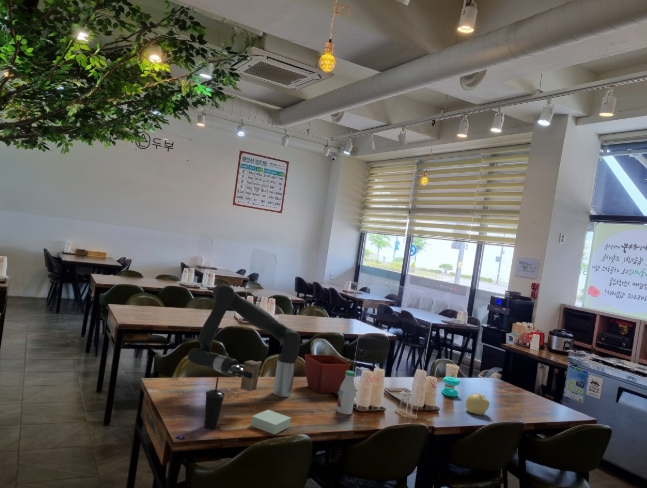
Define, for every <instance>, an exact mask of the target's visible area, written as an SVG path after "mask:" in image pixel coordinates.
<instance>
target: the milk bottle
mask: <svg viewBox="0 0 647 488" xmlns="http://www.w3.org/2000/svg"><path fill="white" fill-rule="evenodd" d="M355 375H356V372H355V371H354V370H349V371H346V373H345V379H344V381H343V382H342V384H341V386H340V390H339V392H338V398H337V404H336V412H338V413H339V414H340V415H346V416H348V415H352V413H353V409H354V404H355V403H354V402H355V396H356V395H355V394H356V384H355V380H354V379H355Z"/></svg>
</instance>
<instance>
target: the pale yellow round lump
mask: <svg viewBox="0 0 647 488" xmlns="http://www.w3.org/2000/svg"><path fill="white" fill-rule="evenodd" d="M464 406H465V408H466V410H467V412H469V413H471V414H474V415H479V416H483V415H484V414H485V413H487V410H488V409H490V401H489V399H487V398H486V397H485V395H484V394H483V393H481V394H480V393H477V392H475V393H472V394H470V395H468V396H467V398H466V399H465V405H464Z"/></svg>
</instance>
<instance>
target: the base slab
mask: <svg viewBox="0 0 647 488" xmlns="http://www.w3.org/2000/svg"><path fill="white" fill-rule="evenodd" d="M291 421H292V417H290V416H287V415H284V414H282V413H279V412H276V411H273V410H271V409H266V410H264V411H261V412H259V413H257V414H254V415H252V416H251V420H250V422H251V423H250V426H251V427H254V428H256V429H259V430H260V431H261V430H262V431H264V432H266V433H269V434H272V435H276V434H278V433H281V432H282V431H284V430H286V429H289V428H290V427H291Z"/></svg>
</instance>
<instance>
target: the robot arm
mask: <svg viewBox="0 0 647 488" xmlns="http://www.w3.org/2000/svg"><path fill="white" fill-rule="evenodd" d="M212 295H213V299H214V300H215V301H214V304H213V307H212V310H211V311H210V314H209V315H208V317H207V319H206V320H205V321H204V324H203V325H202V327H201V331H200V333H199V335H198V337H197V342H198V343H199V344H200V347H199V348H197V347H195V348H192V349H190V350H189V351H188V353H187V359H188V361H189V363H191V364H193V365H197V366H203V367H206V368H207V369H208V368H209V369H211V370H213V371H217V372H219V373H221V374H223V375H227V376H230V377H231V376H233V377H238V378H242V377H247V378H252V375H253V374H252V373H249V372H246V371H244V370H243V369H244V364H241V363H239V360H237V359H235V358H232V357H230V356H227V355H221V354H218V353H213V352H212V349H213V348H212V347H213V345H212V344H213V342H214V339H215V337H216V335H217V332H218V330H219V326H220V324H221V322H222V320H223V318H224V316H225V314H226V312H227V310H228V309H229V308H230V309H232V310H233V311H234V312H235V313H237V314H238V316H240V317H241V318H242V319H243V320H245V321H246V322H248V323H249V324H251V325H252V326H253V327H255V328H257V329H259V330H261V331H263V332H265V333H268V334H270V335H271V336H272V337H273V338H275V339H276V340H277V341H278V342H279V343H280V344H281V345H282V346H281V352H280V353H279V354H278V357H277V362H276V363H277V364H276V369H275V374H274V381H273V382H274V383H273V388H272V394H273V395H274V396H278V397H282V398H288V397H290V396H291V395H292V393H293V392H292V390H293V384H294V378H295V376H294V374H295V367H296V361H297V359H298V356H299V352H300V348H301V342H302V341H301V336H300V334H299V333H298V332H297V331H296V330H294V329H292V328H289V327H288V326H285V325H284V324H282V323H281V322H278V321H277V319H276V318H274V317H273V315H271V314H270V313H269V312H267V311H266V310H265V309H263V308H262V307H260V306H259V305H257V304H256V303H254V302H252V301H251V300H250V301H249V300H247V299H246V298H244V297H242V296H240V295H239V294H238V293H236V292H235V289H234V288H233V287H232V286H231V285H229V284H226V283H221V284H217V285H215V286H214V287H213V289H212ZM260 375H261V371H260V370H259V374H258V377H259V376H260Z"/></svg>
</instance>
